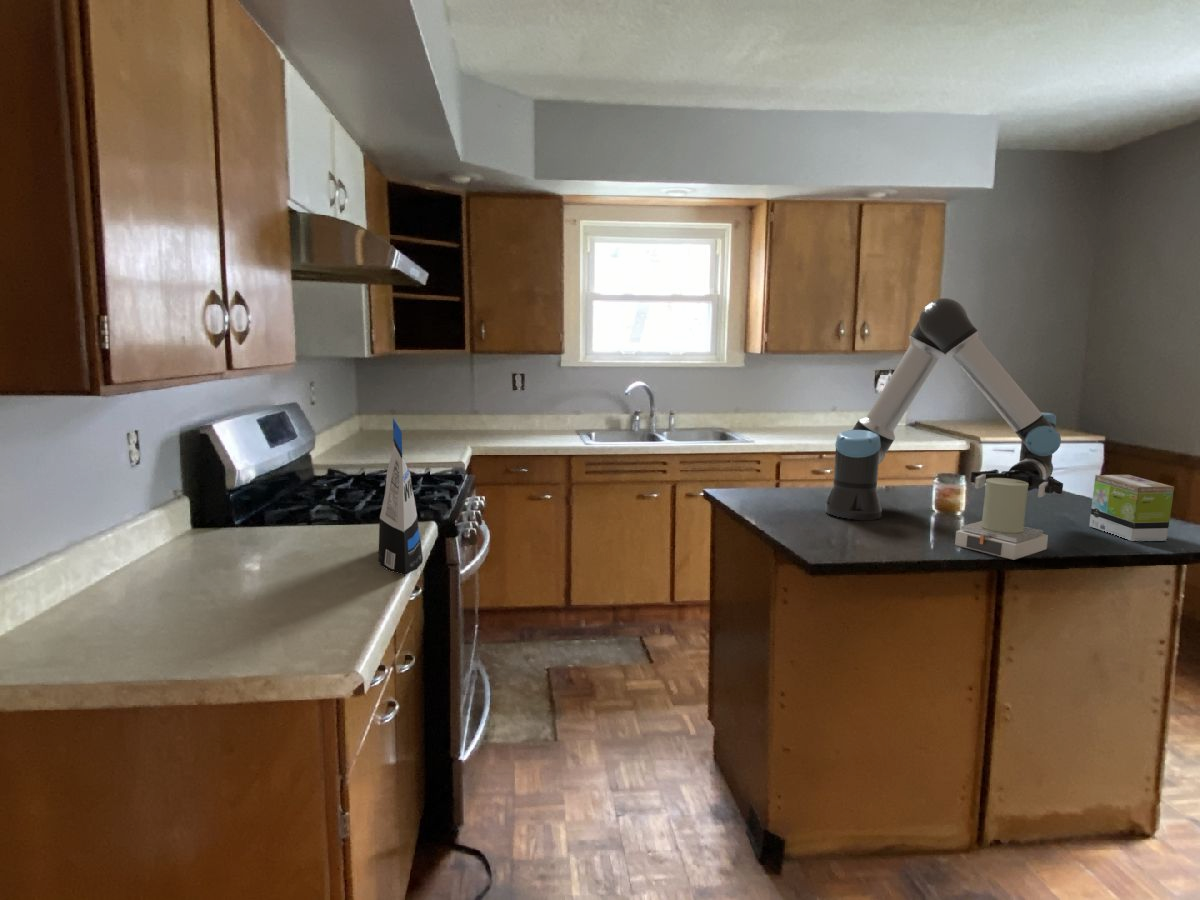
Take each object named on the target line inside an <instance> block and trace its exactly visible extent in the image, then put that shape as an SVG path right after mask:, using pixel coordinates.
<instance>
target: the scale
mask: <svg viewBox="0 0 1200 900" xmlns="http://www.w3.org/2000/svg"><path fill="white" fill-rule="evenodd" d="M980 535H981V534H977V533H972V532H968V531H964V530H962V529H959V530H956V531H955V541H954V546H957V547H961V548H965V549H969V550H974V551H977V552H981V553H985V554H989V555H992V556H997V557H1002V558H1004V559H1009V560H1013V561H1014V560H1019V559H1021V558H1024V557H1027V556H1031V555H1034V554H1036V553H1039V552H1042V551H1045V550H1047V548H1048V539H1049V535H1048V534H1045V533H1043V535H1040V536H1037V537H1034V538H1030V539H1027V540H1024V541H1020V542H1017V543H1015V542H1011V541H1007V540H1002V539H998V538H994V537H987V538H985V544H980Z"/></svg>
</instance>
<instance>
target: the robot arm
mask: <svg viewBox="0 0 1200 900" xmlns="http://www.w3.org/2000/svg"><path fill="white" fill-rule="evenodd" d="M918 317H919V319H918V321H917V322H916V324H915V326H914V328H913V329H912V331H911V332H910V334H909V336H908V338H909V341H910V345H909V346H908V348H907V350H906V352H905V353H904V355H903V356H902V358H901V359H900V361H899V363H898V364H897V366H896V368H895V369H894V371H893V373H892V374H891V376H890V378H889V379H888V380H887V382H886V384H885V386H884V388H883V389H882V391H881V392H880V394H879V395H878V397H877V399H876V401H875V402H874V404H873V405H872V407H871V408H870V410H869V412H868V414H867V415H866V416H865V417H861V418H858V420H857V422H856V423H855V425H854V426H853V428H852V429H850V430H844V431H841V432H839V433H838V434H837V437H836V441H835V443H834V445H835V455H834V458H835V459H834V469H833V472H834V473H833V484H832V488H831V491H830V492H829V496H828V498H827V501H826V503H825V507H824V508H825V510H824V511H826V512H827V513H829V514H831V515H834V516H838V517H842V518H841V519H843V518H848V519H847V520H850V519H858V520H857V521H873V520H874V519H875V520H878V518H879V519H880V517H881V518H882V511H883V510H882V509H883V508H882V506H881V502H880V498H879V495H878V494H879V493H878V490H877V489H878V487H877V486H878V474H879V465H880V464H881V463H882V462H883V460H884V458H885V456H886V454H887V452H888V451H889V449H890V447H891V446H892V444H893V443H894V441H895V440H896V435H895V433H894V432H895V429H896V428H897V426H898V424H899V423H900V421H901V420H902V418H903V416H904V415H905V413H907V411H908V409H909V407H910V405H911V404H912V403H913V401H914V399H915V397H916V396H917V395H918V393H919V392H920V390H921V389H922V387H923V385H924V384H925V382H926V380H927V378H928V377H929V375H930V374H931V372H932V370H934V368H935V366H936V364H937V363H938V361H939V359H941V358H943V357H947V356H949V357H952V358H953V359H954V361H955V363H957V365H958V366H959V367H960V368H961V369H962V370H963V371H964V373H965V374H966V375H967V376H968V377H969V379H970V380H971V382H973V384H974V385H975V386H976V387H977V388H978V390H979V391H980V392H981V393H982V394H983V396H984V397H985V398H986V399H987V401H988V402H989V403H990V404H991V405H992V406H993V407H994V408H995V410H996V411H997V412H998V413H999V415H1000V416H1001V417H1002V418H1003V419H1004V421H1005V422H1006V423H1007V424H1008V425H1009V427H1010V428H1011V429H1012V430H1013V431H1014V433H1015V434H1016V435H1017V437H1019V439H1020V440H1021V445H1020V452H1019V461H1018V462H1017V463H1015V464H1013V465H1012V466H1011V467H1010V468H1009V470H1004V471H1002V470H1001V472H1000V471H999V470H998V469H992V470H984V471H983V470H982V471H972V472H971V473H970V481H969V482H970V483H973V484H974V489H975V490H976V489H977V490H978V489H981V487H984V486H986V479H988V478H1008V479H1015V480H1021V481H1025V482H1027V483H1028V484H1029V485H1028V491H1027V492H1030V491H1033V490H1034V489H1035V490H1036V489H1037V491H1038V493H1037V497H1038V498H1042V497H1044V496H1045V495H1046V494H1053V493H1055V494H1058V495H1063V490H1064V483H1063V482H1061V481H1059V480H1058V479H1055V478H1054V476H1053V475H1052V474H1053V471H1054V466H1053V465H1054V464H1053V461H1052V460H1053V454H1054V453H1056V452H1057V451H1058V450H1059V448H1060V446H1061V443H1062V438H1061V434H1060V432H1058V430H1057V429H1056V427H1057V423H1056V422H1057V416H1056V415H1055V414H1054V413H1052V412H1051V413H1050V412H1042V411H1040V410H1039V409H1038V407H1037V406H1036V405H1035V404H1034V402H1032V400H1031V399H1030V398H1029V396H1028V395H1027V394H1026V393H1025V391H1023V389H1022V388H1021V387H1020V386H1019V385H1018V384H1017V382H1016V381H1015V380H1014V379H1013V378H1012V376H1011V375H1010V374H1009V373H1008V372H1007V370H1006V369H1005V368H1004V367H1003V366H1002V365H1001V364H1000V362H999V361H998V360H997V358H995V356H994V355H993V353H992V352H990V350H989V349H988V348H987V346H985V344H984V343H983V342H982V341H981V339H980V338H979V331H978V329H977V328H976V327H975V326H974V324H973V323H972V321H971V320H970V319H969V316H968V314H967V311H966V309H965V308H964V306H963V305H962V304H961V303H959V302H958V301H956V300H954V299H952V298H946V297H945V298H938V299H934V300H932V301H930V302H928V303H927V304H926V305H925V306H924V308H923V309H922V310H921V312H920V315H919V316H918ZM826 512H825V513H826ZM827 513H826V514H827ZM829 514H828V515H829ZM831 515H830V516H831ZM834 516H833V517H834ZM838 517H837V518H838ZM875 520H874V521H875Z"/></svg>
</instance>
